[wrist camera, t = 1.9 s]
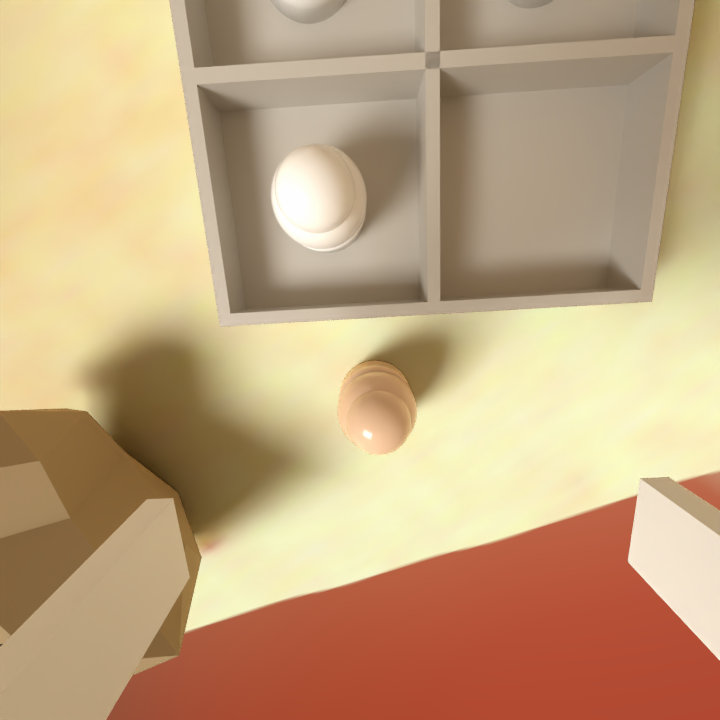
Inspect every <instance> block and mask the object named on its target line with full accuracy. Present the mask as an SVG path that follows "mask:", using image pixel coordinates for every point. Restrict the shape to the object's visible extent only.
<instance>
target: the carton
mask: <svg viewBox="0 0 720 720" xmlns="http://www.w3.org/2000/svg"><path fill="white" fill-rule="evenodd" d="M169 2H170V8H171V14H172V21H173V27H174V34H175V40H176V46H177V53H178V59H179V66H180V72H181V79H182V85H183V91H184V98H185V104H186V111H187V117H188V124H189V130H190V136H191V143H192V149H193V156H194V162H195V169H196V175H197V181H198V188H199V194H200V201H201V207H202V214H203V220H204V226H205V233H206V239H207V246H208V252H209V258H210V265H211V271H212V278H213V284H214V291H215V297H216V303H217V310H218V316H219V323H220V327H221V326H239V325H256V324H273V323H291V322H308V321H325V320H342V319H360V318H377V317H394V316H412V315H429V314H446V313H464V312H481V311H498V310H516V309H533V308H550V307H568V306H585V305H602V304H620V303H637V302H652V297H653V290H654V283H655V276H656V269H657V262H658V255H659V248H660V241H661V234H662V227H663V220H664V213H665V206H666V200H667V193H668V186H669V179H670V172H671V165H672V158H673V151H674V144H675V137H676V130H677V123H678V116H679V109H680V102H681V95H682V88H683V81H684V74H685V67H686V60H687V53H688V46H689V39H690V32H691V25H692V18H693V11H694V4H695V0H554V1H552V2H551V3H549V4H547V5H545V6H542V7H538V8H521V7H518V6H515V5H513V4H511V3H509V2H508V1H507V0H345V2H344V4H343V5H342V6H341V8H340V9H339V10H338V11H337V12H336V13H335V14H334V15H333V16H331V17H330V18H328V19H326V20H324V21H322V22H319V23H313V24H304V23H299V22H296V21H293V20H291V19H289V18H287V17H286V16H285V15H283V14H282V13H281V12H280V11H279V10H278V9H277V8H276V7H275V6H274V5H273V3H272V2H271V0H169ZM312 143H321V144H327V145H330V146H333V147H335V148H337V149H339V150H341V151H342V152H344V153H345V154H346V155H348V156H349V157H350V158H351V159H352V161H353V162H354V163H355V164H356V166H357V167H358V169H359V170H360V172H361V174H362V177H363V179H364V182H365V187H366V193H367V207H366V217H365V222H364V226H363V228H362V231H361V232H360V234H359V236H358V237H357V238H356V240H355V241H354V242H353V243H352V244H351V245H349V246H348V247H346V248H345V249H343V250H341V251H338V252H334V253H319V252H315V251H312V250H310V249H308V248H306V247H304V246H303V245H301V244H299V243H298V242H296V241H294V240H293V239H292V238H291V237H289V236H288V235H287V234H286V232H285V231H284V230H283V229H282V228H281V226H280V225H279V223H278V221H277V219H276V217H275V215H274V211H273V208H272V203H271V184H272V179H273V176H274V173H275V171H276V169H277V167H278V165H279V164H280V162H281V161H282V159H283V158H284V157H285V156H286V155H287V154H288V153H290V152H291V151H292V150H294V149H296V148H298V147H300V146H303V145H306V144H312Z"/></svg>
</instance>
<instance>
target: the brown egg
mask: <svg viewBox="0 0 720 720" xmlns="http://www.w3.org/2000/svg"><path fill="white" fill-rule="evenodd" d="M416 417H417V406H416V402H415V398H414V396H413V393H412V391H411V389H410V387H409V384H408V382H407V380H406V378H405V376H404V375H403V374H402V372H401V371H400V370H399V369H398V368H396V367H395V366H393V365H392V364H389V363H387V362H383V361H367V362H363V363H361V364H359V365H357V366H355V367H354V368H353V369H351V370H350V371H349V372H348V374H347V375H346V376H345V378H344V380H343V382H342V386H341V390H340V396H339V402H338V420H339V423H340V426H341V428H342V431H343V432H344V434H345V435H346V436H347V438H348V439H349V440H350V441H351V442H352V443H354V444H355V445H356V446H357V447H358V448H359V449H361V450H362V451H364V452H366V453H369V454H372V455H386V454H389V453H392V452H394V451H396V450H397V449H398V448H400V447H401V446H402V445H403V444H404V442H405V441H406V439H407V437H408V436H409V435H410V433H411V432H412V430H413V428H414V425H415V422H416Z"/></svg>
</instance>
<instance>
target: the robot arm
mask: <svg viewBox="0 0 720 720" xmlns="http://www.w3.org/2000/svg"><path fill="white" fill-rule="evenodd" d="M628 562H629V564H630V565H631V566H632V567H633V568H634V569H635V570H636V571H637V572H638V573H639V574H640V575H641V576H642V577H643V578H644V580H645V581H646V582H647V583H648V584H649V585H650V586H651V587H652V588H653V589H654V590H655V591H656V593H657V594H658V595H659V596H660V597H661V598H662V599H663V600H664V601H665V602H666V603H667V604H668V605H669V606H670V608H671V609H672V610H673V611H674V612H675V613H676V614H677V615H678V616H679V617H680V618H681V619H682V620H683V622H685V623H686V625H687V626H688V627H689V628H690V629H691V630H692V631H693V632H694V633H695V634H696V635H697V637H698V638H699V639H700V640H701V641H702V642H703V643H704V644H705V645H706V646H707V647H708V648H709V649H710V650H711V652H712V653H713V654H715V656H716V657H717V658H718V659H719V660H720V510H718V509H717V508H715V507H714V506H712V505H710V504H709V503H707V502H705V501H704V500H703V499H701V498H700V497H698V496H696V495H695V494H694V493H692V492H690V491H689V490H687V489H686V488H684V487H683V486H681V485H680V484H678V483H677V482H675V481H674V480H672V479H670V478H669V477H662V478H640V483H639V490H638V497H637V504H636V510H635V517H634V524H633V531H632V537H631V544H630V551H629V557H628ZM189 578H190V576H189V571H188V566H187V562H186V557H185V552H184V547H183V543H182V538H181V533H180V528H179V524H178V519H177V514H176V509H175V504H174V500H173V498H164V499H147V500H146V501H145V502H144V503H143V504H142V505H141V506H140V507H139V508H138V509H137V510H136V511H135V512H134V513H133V514H132V515H131V516H130V517H129V518H128V519H127V520H126V521H125V522H124V523H123V524H122V525H121V526H120V527H119V528H118V529H117V530H116V531H115V532H114V533H113V534H112V535H111V536H110V537H109V538H108V539H107V540H106V541H105V542H104V543H103V544H102V545H101V546H100V547H99V548H98V549H97V550H96V551H95V552H94V553H93V554H92V555H91V556H90V557H89V558H88V559H87V560H86V561H85V562H84V563H83V564H82V565H81V566H80V567H79V568H78V569H77V570H76V571H75V572H74V573H73V574H72V575H71V576H70V577H69V578H68V579H67V580H66V581H65V582H64V583H63V584H62V585H61V586H60V587H59V588H58V589H57V590H56V591H55V592H54V593H53V594H52V595H51V596H50V597H49V598H48V599H47V600H46V601H45V602H44V603H43V604H42V605H41V606H40V607H39V608H38V609H37V610H36V611H35V612H34V613H33V614H32V615H31V616H30V617H29V618H28V619H27V620H26V621H25V622H24V623H23V624H22V625H21V626H20V627H19V628H18V629H17V630H16V631H15V632H14V633H13V634H12V636H11V637H10V638H9V639H8V640H7V641H6V642H5V643H4V644H0V720H106V719H107V717H108V715H109V714H110V712H111V710H112V708H113V707H114V705H115V703H116V702H117V700H118V698H119V696H120V695H121V693H122V691H123V690H124V688H125V686H126V685H127V683H128V681H129V680H130V678H131V676H132V675H133V673H134V671H135V669H136V668H137V666H138V664H139V663H140V661H141V659H142V658H143V656H144V654H145V652H146V651H147V649H148V647H149V646H150V644H151V642H152V641H153V639H154V637H155V635H156V634H157V632H158V630H159V629H160V627H161V625H162V624H163V622H164V620H165V619H166V617H167V615H168V613H169V612H170V610H171V608H172V607H173V605H174V603H175V602H176V600H177V598H178V596H179V595H180V593H181V591H182V590H183V588H184V586H185V585H186V583H187V581H188V579H189Z"/></svg>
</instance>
